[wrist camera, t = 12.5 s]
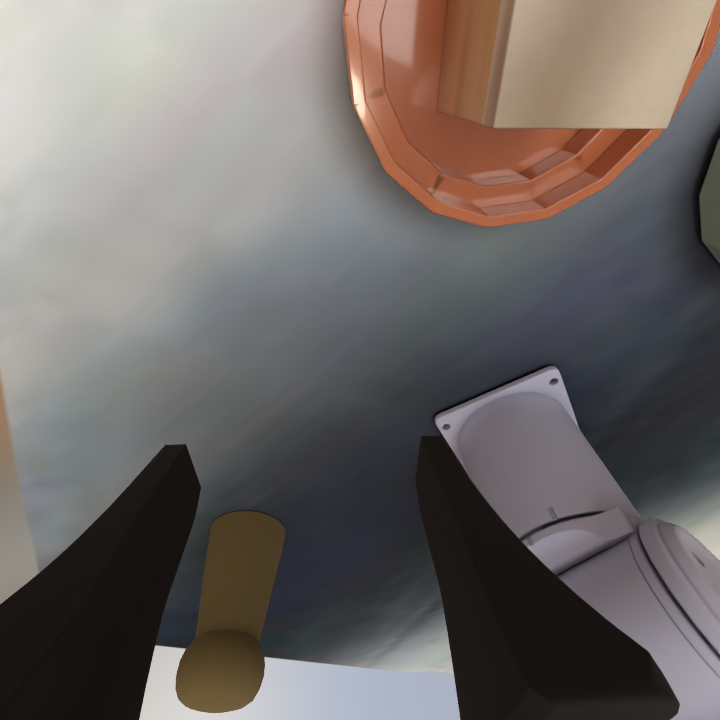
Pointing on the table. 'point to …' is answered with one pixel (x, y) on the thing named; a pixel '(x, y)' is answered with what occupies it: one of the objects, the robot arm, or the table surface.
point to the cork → (231, 613)
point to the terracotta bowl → (472, 125)
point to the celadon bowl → (711, 206)
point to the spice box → (568, 61)
